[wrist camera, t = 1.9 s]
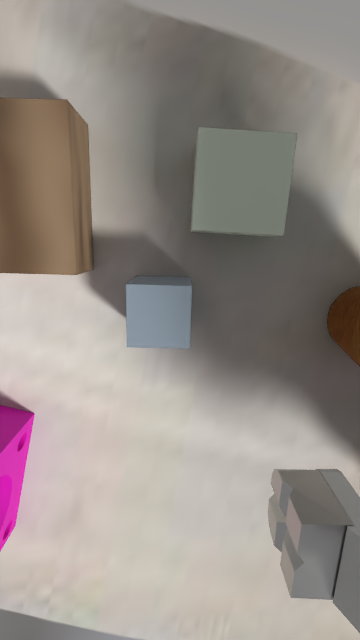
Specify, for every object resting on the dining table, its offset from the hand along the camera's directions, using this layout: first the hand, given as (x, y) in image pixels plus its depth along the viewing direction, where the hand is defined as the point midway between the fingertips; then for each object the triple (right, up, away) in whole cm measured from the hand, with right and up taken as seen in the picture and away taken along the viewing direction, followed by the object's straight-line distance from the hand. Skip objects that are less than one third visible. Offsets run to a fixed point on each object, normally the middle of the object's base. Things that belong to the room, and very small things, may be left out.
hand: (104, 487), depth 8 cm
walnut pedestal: (-11, +15, +21) cm, 27 cm away
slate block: (0, +6, +23) cm, 24 cm away
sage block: (+6, +15, +21) cm, 26 cm away
